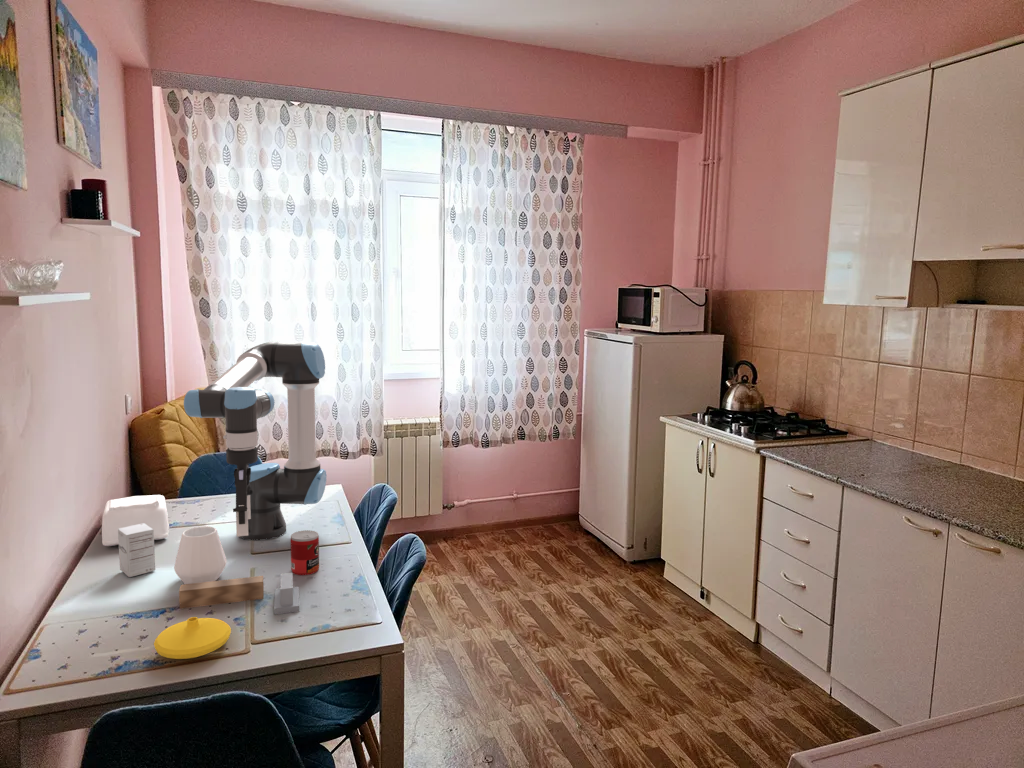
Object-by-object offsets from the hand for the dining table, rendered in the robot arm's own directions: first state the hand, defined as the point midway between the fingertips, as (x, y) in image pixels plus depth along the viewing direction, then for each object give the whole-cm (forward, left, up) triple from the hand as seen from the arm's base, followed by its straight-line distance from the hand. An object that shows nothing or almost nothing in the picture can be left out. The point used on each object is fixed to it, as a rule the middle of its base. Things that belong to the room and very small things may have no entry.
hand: (243, 527), depth 173 cm
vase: (+24, -10, -20) cm, 33 cm away
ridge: (+6, +10, -19) cm, 23 cm away
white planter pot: (-16, -13, -20) cm, 28 cm away
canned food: (-14, +15, -20) cm, 28 cm away
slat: (0, -6, -20) cm, 20 cm away
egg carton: (-63, -38, -20) cm, 76 cm away
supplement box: (-27, -31, -20) cm, 45 cm away
